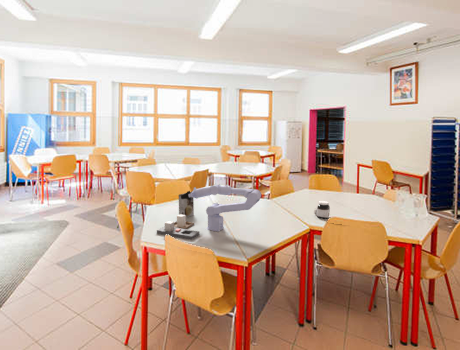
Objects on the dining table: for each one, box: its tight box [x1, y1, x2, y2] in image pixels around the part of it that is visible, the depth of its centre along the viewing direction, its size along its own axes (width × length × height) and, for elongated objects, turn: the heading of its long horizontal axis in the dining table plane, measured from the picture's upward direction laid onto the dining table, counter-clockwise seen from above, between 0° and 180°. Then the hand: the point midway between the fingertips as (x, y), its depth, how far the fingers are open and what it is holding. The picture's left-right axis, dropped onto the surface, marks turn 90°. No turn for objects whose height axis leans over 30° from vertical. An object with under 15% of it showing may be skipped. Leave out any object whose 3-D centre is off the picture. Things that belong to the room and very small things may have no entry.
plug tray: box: [173, 220, 195, 230], centre depth 192 cm, size 12×12×2 cm
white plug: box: [176, 214, 187, 227], centre depth 191 cm, size 4×4×7 cm
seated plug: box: [164, 220, 175, 231], centre depth 180 cm, size 4×4×7 cm
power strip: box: [156, 225, 200, 241], centre depth 178 cm, size 24×9×3 cm, turn 67°
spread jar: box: [313, 200, 331, 220], centre depth 217 cm, size 12×11×12 cm
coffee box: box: [178, 192, 195, 218], centre depth 214 cm, size 9×6×16 cm
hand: (184, 196), depth 193 cm, fingers open, 7 cm apart
